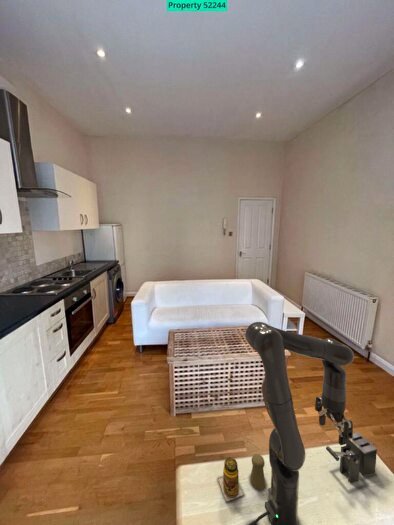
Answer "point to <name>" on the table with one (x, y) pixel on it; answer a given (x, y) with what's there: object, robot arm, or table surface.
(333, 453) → the switch lever
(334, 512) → the table surface
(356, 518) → the table surface
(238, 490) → the condiment
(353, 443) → the toaster body
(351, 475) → the switch bracket
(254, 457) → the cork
